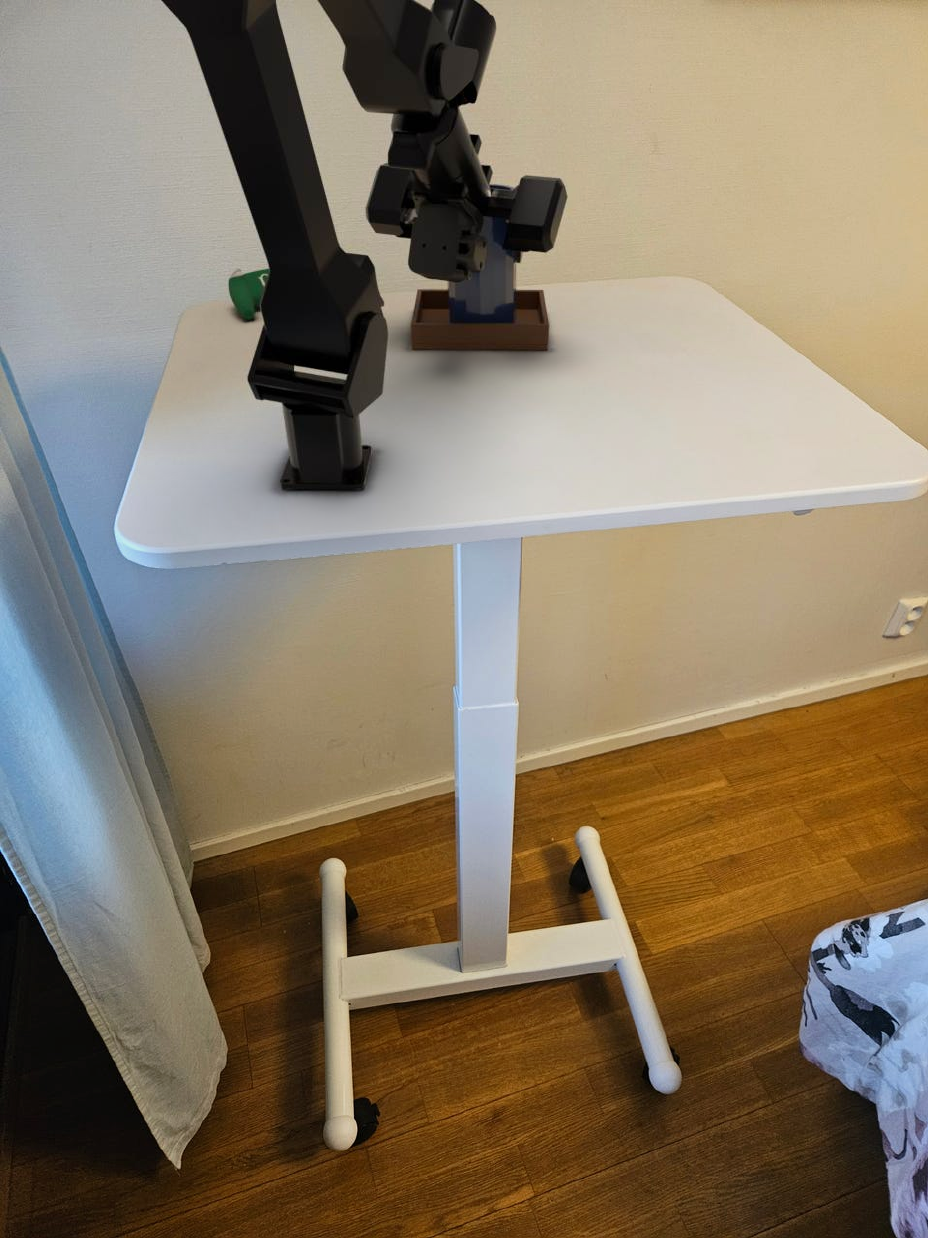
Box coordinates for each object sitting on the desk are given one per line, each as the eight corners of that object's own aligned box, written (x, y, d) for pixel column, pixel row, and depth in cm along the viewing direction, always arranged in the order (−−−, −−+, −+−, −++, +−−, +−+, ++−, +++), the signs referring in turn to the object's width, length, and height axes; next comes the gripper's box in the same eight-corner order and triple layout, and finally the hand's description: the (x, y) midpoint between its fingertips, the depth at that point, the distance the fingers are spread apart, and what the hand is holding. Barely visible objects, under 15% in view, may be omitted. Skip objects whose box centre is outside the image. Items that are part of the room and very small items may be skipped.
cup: (528, 320, 91) (530, 187, 84) (489, 340, 87) (487, 201, 79) (475, 310, 95) (472, 181, 87) (435, 327, 91) (429, 194, 83)
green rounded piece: (311, 315, 100) (290, 270, 100) (320, 298, 97) (297, 251, 97) (239, 332, 96) (216, 285, 96) (245, 315, 93) (222, 265, 93)
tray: (547, 350, 87) (549, 324, 86) (411, 349, 87) (410, 324, 86) (542, 313, 96) (543, 289, 94) (418, 312, 96) (417, 288, 94)
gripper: (320, 231, 75) (383, 315, 90) (518, 254, 70) (551, 340, 85) (355, 115, 76) (412, 218, 91) (554, 129, 71) (580, 236, 85)
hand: (485, 254), depth 88 cm, fingers closed on cup, 7 cm apart
